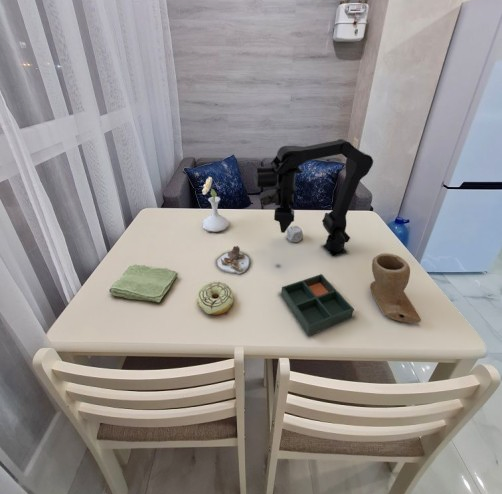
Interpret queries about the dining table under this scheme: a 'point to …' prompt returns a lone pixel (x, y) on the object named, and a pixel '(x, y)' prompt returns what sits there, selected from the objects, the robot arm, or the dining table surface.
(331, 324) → the grid
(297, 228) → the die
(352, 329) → the dining table surface
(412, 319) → the clay platform pipe
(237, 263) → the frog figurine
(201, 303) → the decorated donut
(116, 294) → the washcloth
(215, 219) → the flower in vase
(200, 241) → the dining table surface
